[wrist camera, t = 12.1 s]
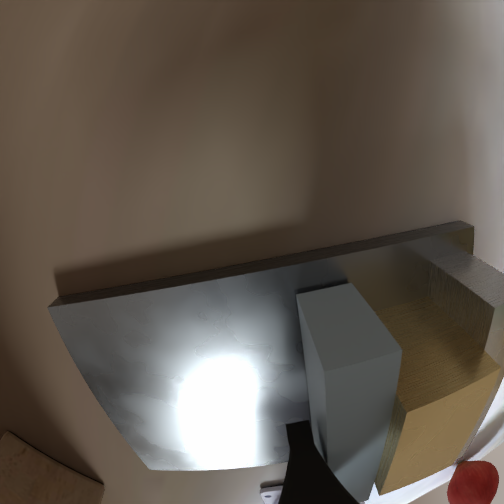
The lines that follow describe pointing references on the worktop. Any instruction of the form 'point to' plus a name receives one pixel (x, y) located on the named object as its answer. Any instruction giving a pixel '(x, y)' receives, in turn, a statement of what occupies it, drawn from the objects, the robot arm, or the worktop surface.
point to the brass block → (431, 393)
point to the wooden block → (41, 478)
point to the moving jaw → (348, 382)
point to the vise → (255, 341)
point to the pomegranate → (473, 483)
